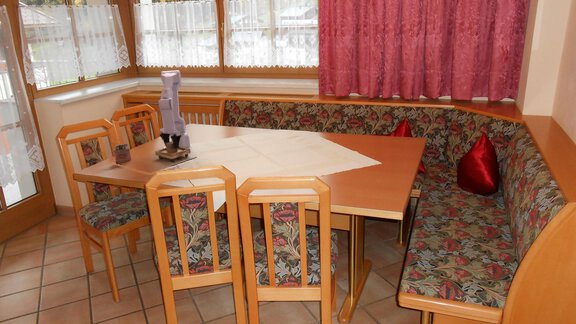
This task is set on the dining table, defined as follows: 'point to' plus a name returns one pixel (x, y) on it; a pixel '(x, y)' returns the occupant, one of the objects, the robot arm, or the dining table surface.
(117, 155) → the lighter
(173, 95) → the robot arm
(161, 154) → the tray
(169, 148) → the block
